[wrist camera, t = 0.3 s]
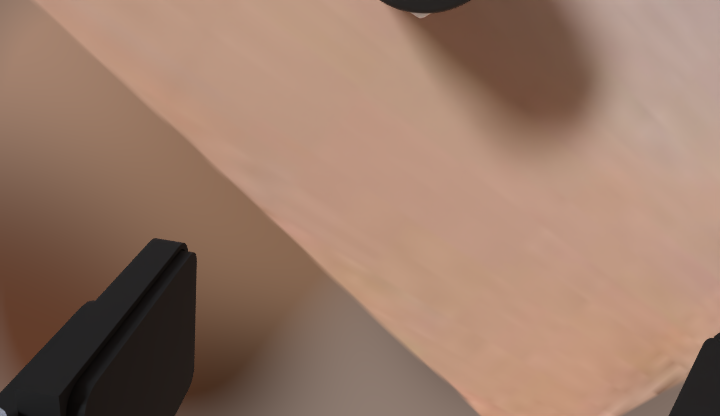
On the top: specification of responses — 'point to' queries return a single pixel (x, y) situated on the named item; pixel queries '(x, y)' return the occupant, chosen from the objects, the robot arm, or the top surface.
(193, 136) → the top surface
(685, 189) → the top surface
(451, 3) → the jar
